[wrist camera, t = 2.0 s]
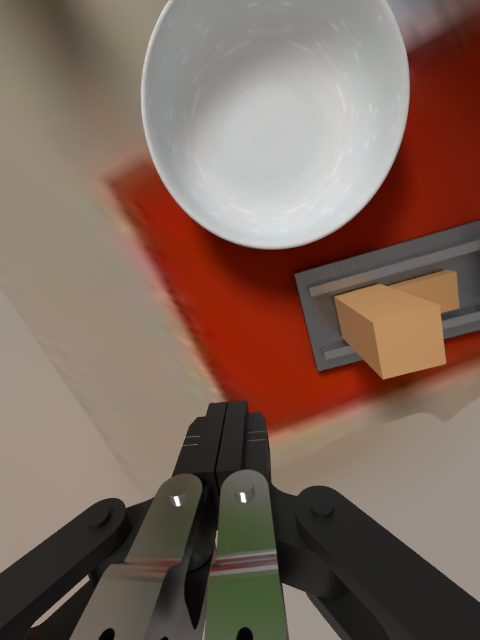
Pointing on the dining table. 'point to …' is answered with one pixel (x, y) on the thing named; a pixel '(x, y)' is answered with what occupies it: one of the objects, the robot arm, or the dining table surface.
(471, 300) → the rail
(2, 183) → the dining table surface
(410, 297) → the block
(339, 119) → the serving bowl
